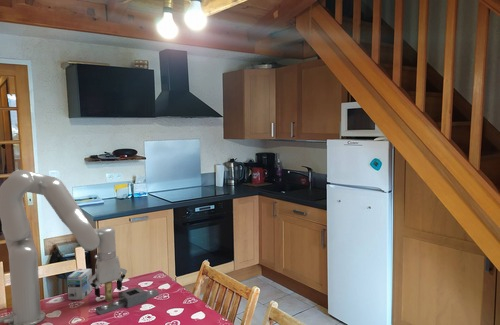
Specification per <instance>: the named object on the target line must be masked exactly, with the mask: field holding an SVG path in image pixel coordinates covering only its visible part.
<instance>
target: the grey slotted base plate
mask: <svg viewBox="0 0 500 325" xmlns="http://www.w3.org/2000/svg"><path fill="white" fill-rule="evenodd" d="M159 293H160V292H159V291H158V290H157V289H155V288H153V289H148V290H143V289H142V288H140V287H139V286H136V287H132V288H130V289H125V290H123V291H122V290H121V291H120V292H118V300H114V301H111V302H109V303H107V304H102V305H100V306H97V307H95V312H96V313H97V314H98V315H99V316H101V315H105V314H107V313H109V312H112V311H116V310H119V309H121V308H125V307H126V309H130V308H132V307H135V306H137V305H141V304H143V303H147V302H148V299H152V298H154V297H157V296H159V295H160V294H159Z"/></svg>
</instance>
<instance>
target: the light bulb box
mask: <svg viewBox="0 0 500 325" xmlns="http://www.w3.org/2000/svg"><path fill="white" fill-rule="evenodd" d="M92 276H93V272H92V268H78V269H76V270H74V271H73V272H72V273H70V274H69V275H67V278H66V279H67V293H68V294H67V295H68V300H74V301H77V300H79V301H80V300H81V301H82V300H84V299H85V298H86V297H87V296H88V295H89V294H91V293H92V292H93V291H92V290H93V286H91V285H90V284H89V282H88V279H89V278H91V277H92ZM91 291H92V292H91Z"/></svg>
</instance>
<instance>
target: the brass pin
mask: <svg viewBox="0 0 500 325" xmlns="http://www.w3.org/2000/svg"><path fill="white" fill-rule="evenodd" d="M103 284H104V300H105V302H106V303H107V302H109V303H111V302H113V300H114V297H113V296H114V294H113V291H114V290H113V281H111V282H107V283H103Z"/></svg>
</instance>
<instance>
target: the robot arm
mask: <svg viewBox="0 0 500 325" xmlns="http://www.w3.org/2000/svg"><path fill="white" fill-rule="evenodd" d="M26 193H32V194H35V195H41V196H44V198H45V199H46V201H47V202H48V204H49V205H50V207H51V208H52V209H53V211H54V213H55V214H56V215H57V217H58V218H59V219H60V221H61V222H62V223H63V225H65V226H66V227H67V228H68V230H69V231H70V232H71V234H72V235H73V236H74V238H75V239H76V241H77V243H78V244H79V245H80V247H81V248H82V249H83V250H84V251H88V252H91V251H95V250H96V249H97V253H96V254H95V255H94V259H96V261H95V272H94V274H92V277H91V278H89V279H88V282H89V284H90V285H91V286H92V288H94V295H95V297H97V298H100V297H101V289H100V286H101V284H104V283H107V282H111V281H112V282H115V281H116V289H117V291H120V292H122V288H123V281H124V279H125V277H126V274H127V272H128V270H127V269H126V268H122V267H121V264H120V259H119V256H117V249H116V247H117V246H116V229H115V228H114V227H112V226H105V227H104V226H103V227H100V228H94V227H93V226H92V225H91V223H90V221H89V220H88V219H87V217H86V216H85V214H84V212H83V211H82V209H81V207H80V206H79V204H78V203H77V202H76V200H75V198H74V197H73V196H72V194H71V193H70V191H69V190H68V189H67V187H66V185H65V184H64V182H63V181H62V180H60V179H59V178H57V177H55V176H51V175H47V174H46V175H45V174H41V173H38V172H34V171H33V172H32V171H30V170H25V169H16V170H14V171H12V172H11V173H10V174H9V176H8V178H6V180H4V181H3V183H1V185H0V222H1V231H2V233H3V237H4V239H5V244H6V247H7V251H8V263H9V264H8V265H9V278H10V292H11V308H12V310H10V313H8V314H7V315H6V316H2V317H0V324H2V323H3V324H7V323H8V325H38V324H39V323H41V322H42V321H43V320H45V318H46V313H45V312H44V311H43V310H41V307H42V306H41V295H40V294H41V293H40V291H41V290H40V279H39V278H40V277H39V253H38V250H37V246H36V244H35V240H34V237H33V233H32V228H31V222H30V220H29V219H28V217H27V216H28V215H27V212H26V209H25V203H24V196H25V194H26ZM121 272H122V273H121ZM94 280H95V282H93V281H94Z"/></svg>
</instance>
